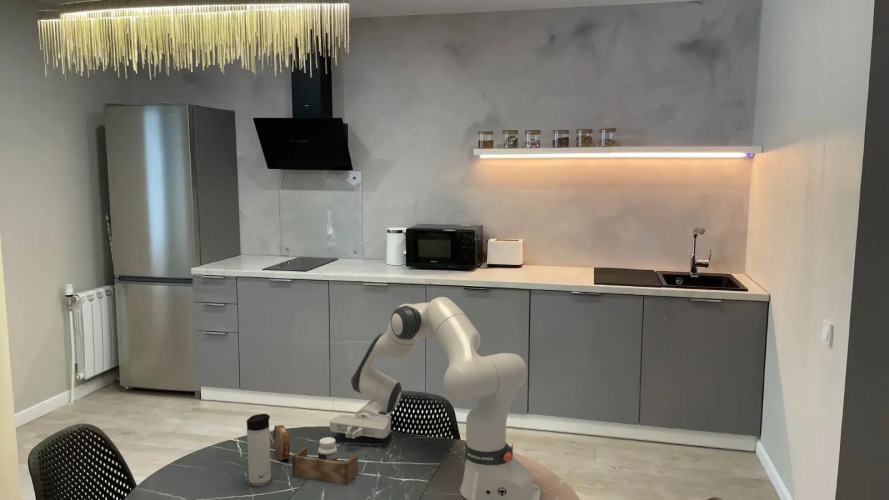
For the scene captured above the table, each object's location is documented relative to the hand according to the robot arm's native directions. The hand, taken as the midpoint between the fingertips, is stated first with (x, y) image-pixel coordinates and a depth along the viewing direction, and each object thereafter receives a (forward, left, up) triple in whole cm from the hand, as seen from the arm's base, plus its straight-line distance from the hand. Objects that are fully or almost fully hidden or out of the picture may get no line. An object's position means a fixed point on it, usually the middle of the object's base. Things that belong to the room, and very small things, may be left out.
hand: (349, 435), depth 205 cm
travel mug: (+16, +27, -5) cm, 31 cm away
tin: (+20, +9, -6) cm, 22 cm away
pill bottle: (0, +15, -5) cm, 16 cm away
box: (0, +17, -5) cm, 17 cm away
